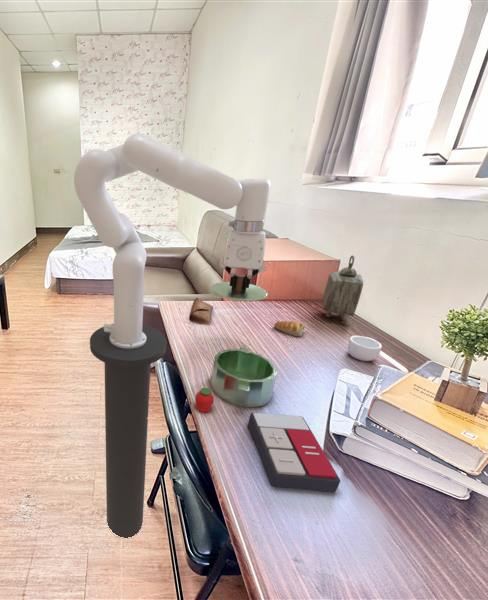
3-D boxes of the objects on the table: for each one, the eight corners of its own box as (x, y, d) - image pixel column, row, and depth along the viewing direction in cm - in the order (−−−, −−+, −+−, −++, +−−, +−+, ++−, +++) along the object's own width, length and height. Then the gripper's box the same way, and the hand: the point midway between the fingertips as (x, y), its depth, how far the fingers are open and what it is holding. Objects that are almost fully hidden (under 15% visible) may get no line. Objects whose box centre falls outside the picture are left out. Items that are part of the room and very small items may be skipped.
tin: (206, 405, 75) (210, 379, 72) (214, 362, 92) (217, 340, 90) (273, 421, 70) (279, 395, 67) (268, 373, 87) (273, 350, 84)
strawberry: (193, 410, 74) (195, 394, 72) (195, 399, 77) (197, 383, 75) (211, 415, 72) (214, 398, 70) (213, 403, 76) (215, 387, 74)
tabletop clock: (350, 328, 113) (371, 261, 104) (321, 322, 117) (338, 258, 108) (345, 313, 125) (364, 253, 115) (319, 309, 129) (335, 250, 120)
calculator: (276, 472, 54) (250, 409, 67) (271, 488, 56) (247, 424, 69) (343, 478, 53) (303, 413, 66) (335, 495, 55) (298, 427, 68)
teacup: (379, 366, 90) (385, 350, 88) (347, 360, 93) (352, 344, 91) (371, 351, 98) (376, 336, 96) (342, 345, 102) (346, 330, 100)
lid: (207, 298, 89) (210, 280, 87) (213, 282, 102) (215, 266, 100) (267, 306, 83) (271, 286, 81) (265, 288, 96) (268, 271, 94)
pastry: (272, 330, 112) (274, 320, 110) (276, 324, 116) (278, 314, 115) (301, 338, 106) (304, 328, 105) (304, 331, 111) (307, 321, 110)
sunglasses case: (212, 323, 116) (204, 308, 114) (194, 330, 119) (186, 315, 118) (213, 306, 131) (206, 292, 130) (198, 312, 134) (191, 298, 133)
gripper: (216, 227, 85) (209, 289, 92) (282, 230, 79) (269, 297, 86) (218, 223, 91) (211, 282, 98) (280, 226, 86) (267, 288, 92)
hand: (238, 288), depth 92 cm, fingers closed on lid, 2 cm apart
